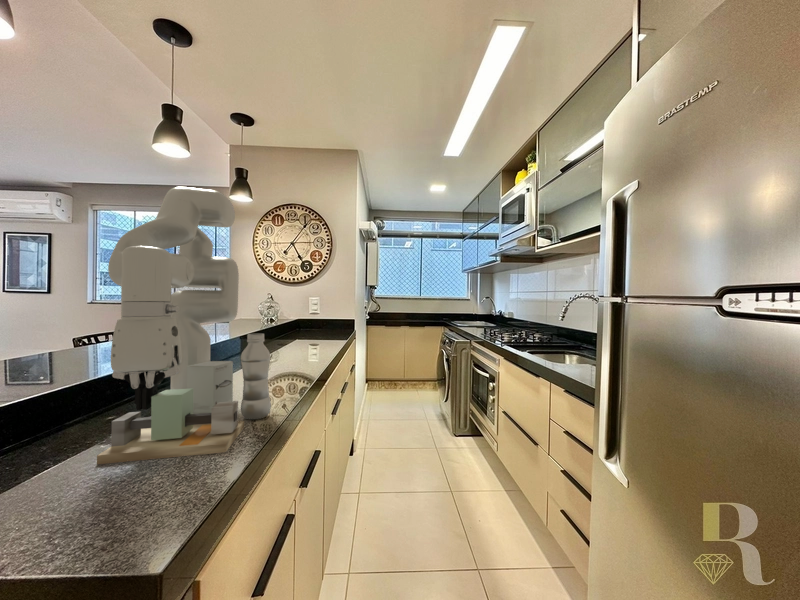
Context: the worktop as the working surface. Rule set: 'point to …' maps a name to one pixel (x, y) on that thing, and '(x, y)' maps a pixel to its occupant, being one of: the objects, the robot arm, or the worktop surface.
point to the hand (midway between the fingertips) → (146, 407)
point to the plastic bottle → (255, 378)
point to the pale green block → (171, 413)
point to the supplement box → (210, 384)
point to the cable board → (204, 438)
